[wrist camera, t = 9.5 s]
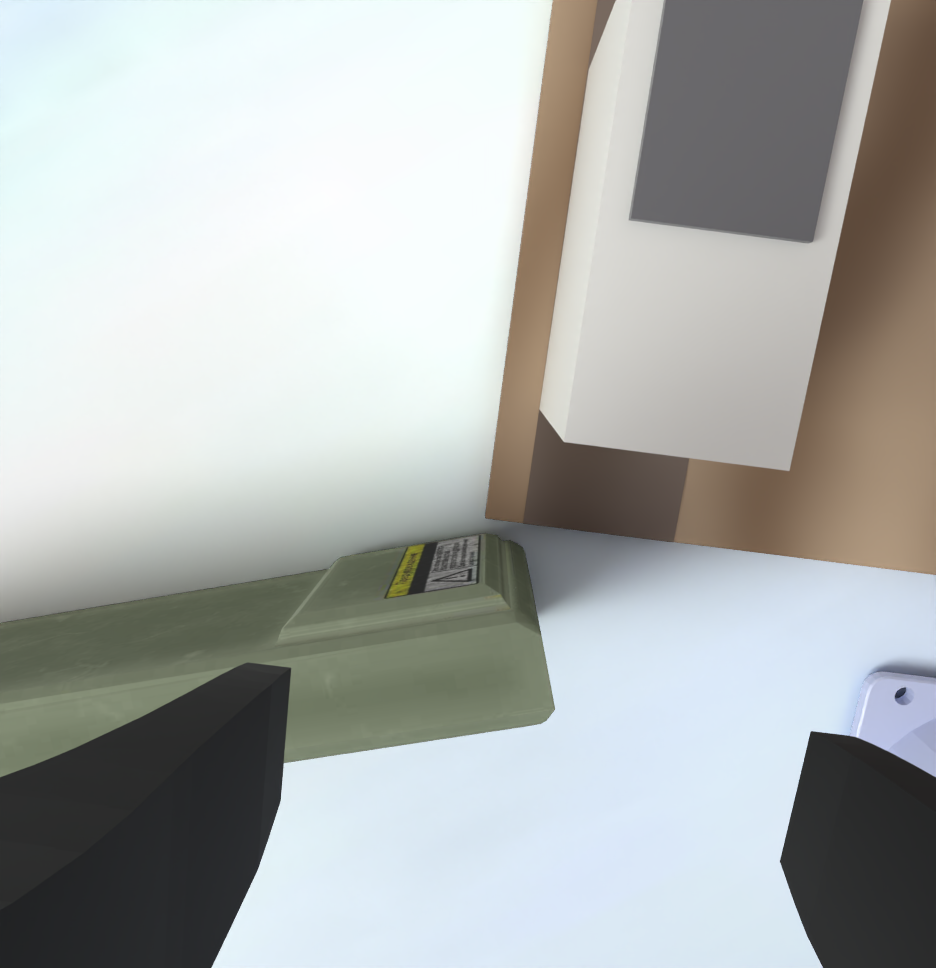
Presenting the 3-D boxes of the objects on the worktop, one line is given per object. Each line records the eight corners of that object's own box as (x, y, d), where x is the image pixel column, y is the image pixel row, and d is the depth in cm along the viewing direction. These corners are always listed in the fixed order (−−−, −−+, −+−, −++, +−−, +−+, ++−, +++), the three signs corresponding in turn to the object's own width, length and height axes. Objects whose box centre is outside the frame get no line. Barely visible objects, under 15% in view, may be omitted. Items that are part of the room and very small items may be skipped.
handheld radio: (539, 631, 21) (-280, 759, 22) (520, 518, 21) (-316, 657, 22) (561, 752, 14) (-601, 924, 16) (535, 590, 14) (-663, 783, 15)
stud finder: (758, 91, 17) (905, -40, 11) (694, 429, 19) (794, 473, 13) (588, 70, 17) (645, -75, 11) (539, 408, 19) (565, 443, 13)
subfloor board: (1236, 22, 17) (1264, 11, 17) (1068, 586, 20) (1087, 594, 20) (561, -64, 17) (563, -78, 17) (485, 513, 20) (485, 518, 19)
